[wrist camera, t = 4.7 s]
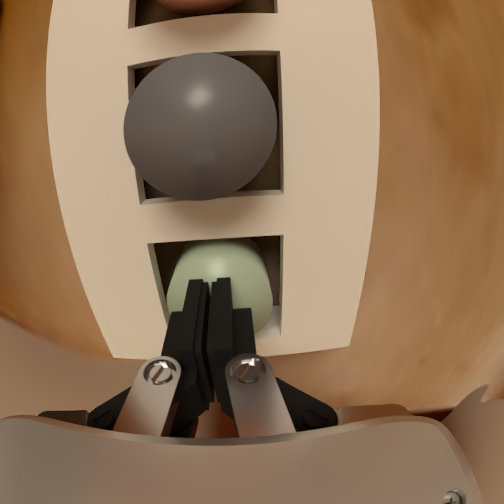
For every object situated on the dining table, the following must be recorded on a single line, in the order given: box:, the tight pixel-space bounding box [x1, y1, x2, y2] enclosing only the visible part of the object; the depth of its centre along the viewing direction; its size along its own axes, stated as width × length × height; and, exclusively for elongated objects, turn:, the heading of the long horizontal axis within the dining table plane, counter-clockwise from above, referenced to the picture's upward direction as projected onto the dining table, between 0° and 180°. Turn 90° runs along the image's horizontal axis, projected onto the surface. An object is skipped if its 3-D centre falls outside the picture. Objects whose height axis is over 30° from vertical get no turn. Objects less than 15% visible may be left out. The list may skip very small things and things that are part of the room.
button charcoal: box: [123, 52, 277, 201], centre depth 8 cm, size 4×4×3 cm
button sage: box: [167, 237, 273, 334], centre depth 13 cm, size 4×4×3 cm
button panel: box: [46, 0, 380, 359], centre depth 10 cm, size 13×22×3 cm, turn 2°
